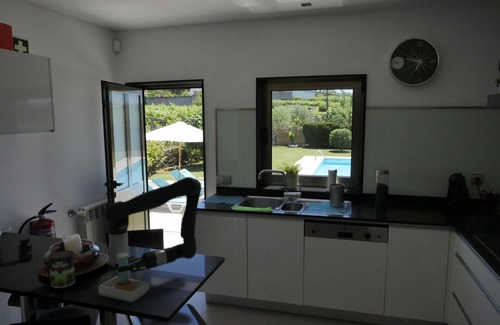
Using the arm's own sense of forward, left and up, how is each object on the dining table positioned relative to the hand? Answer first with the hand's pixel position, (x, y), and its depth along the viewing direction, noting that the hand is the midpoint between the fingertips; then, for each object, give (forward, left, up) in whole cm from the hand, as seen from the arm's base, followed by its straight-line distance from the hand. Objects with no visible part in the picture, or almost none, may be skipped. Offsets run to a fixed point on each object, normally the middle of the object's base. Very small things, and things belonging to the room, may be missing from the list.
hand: (117, 268), depth 155 cm
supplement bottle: (-75, +12, -12) cm, 77 cm away
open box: (+1, +2, -12) cm, 12 cm away
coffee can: (-32, -1, -12) cm, 34 cm away
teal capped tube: (+1, +2, -6) cm, 7 cm away
